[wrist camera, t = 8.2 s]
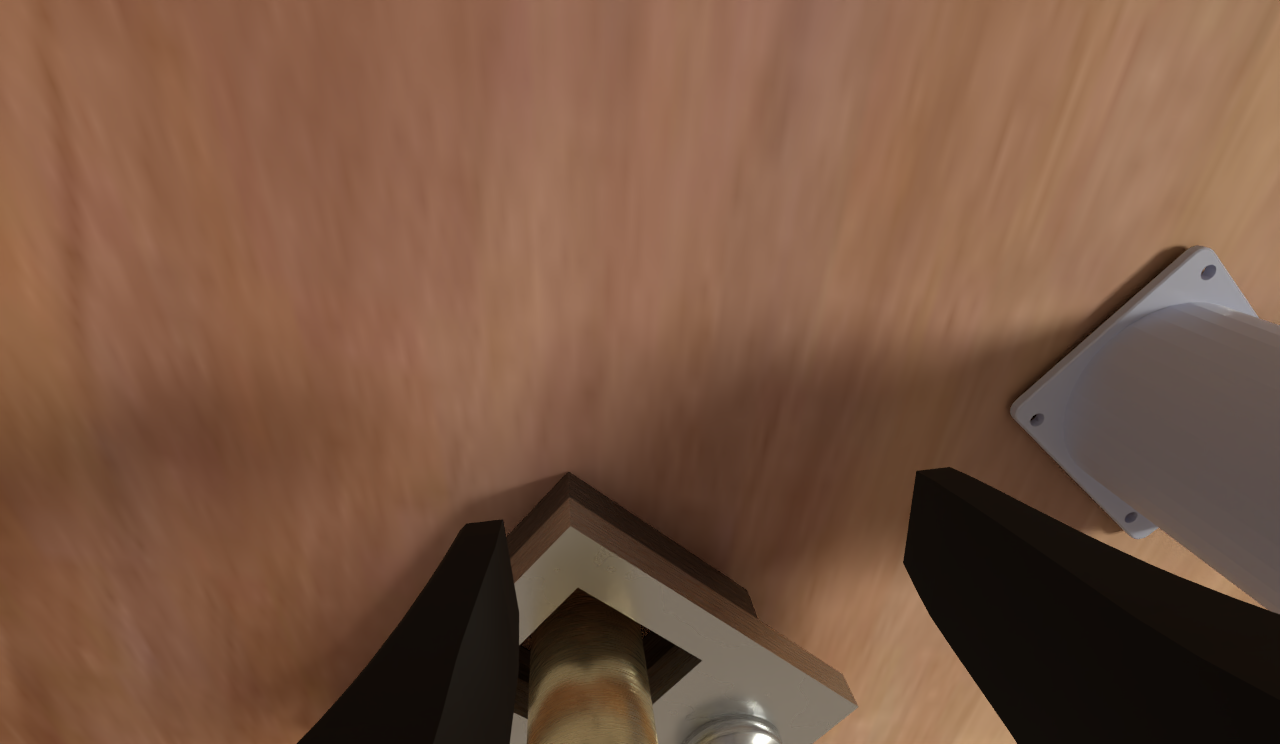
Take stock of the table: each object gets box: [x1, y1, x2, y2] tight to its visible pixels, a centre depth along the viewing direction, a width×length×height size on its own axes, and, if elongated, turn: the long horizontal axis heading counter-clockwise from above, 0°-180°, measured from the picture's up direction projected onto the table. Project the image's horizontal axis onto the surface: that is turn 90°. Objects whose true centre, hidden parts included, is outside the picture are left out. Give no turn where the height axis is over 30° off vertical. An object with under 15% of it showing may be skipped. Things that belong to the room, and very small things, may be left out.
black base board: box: [506, 472, 758, 683], centre depth 25 cm, size 14×9×2 cm, turn 138°
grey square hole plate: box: [510, 497, 858, 744], centre depth 24 cm, size 14×9×4 cm, turn 48°
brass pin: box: [527, 588, 658, 744], centre depth 21 cm, size 4×4×9 cm
